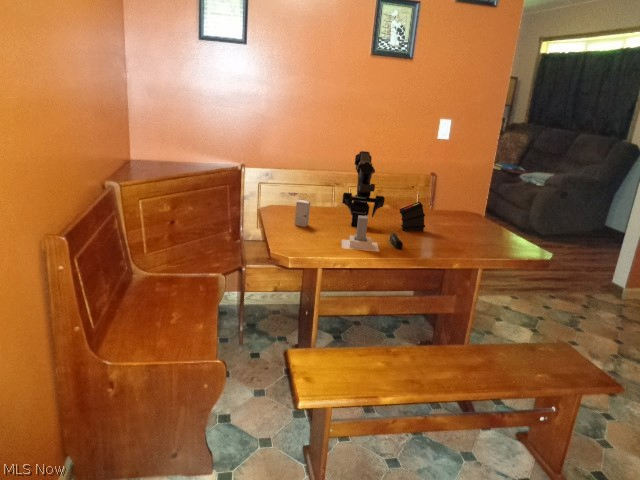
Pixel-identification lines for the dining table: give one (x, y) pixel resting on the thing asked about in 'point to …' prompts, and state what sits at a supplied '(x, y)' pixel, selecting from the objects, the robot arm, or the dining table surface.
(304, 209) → the skincare box
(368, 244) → the white flat stepped block
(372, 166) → the robot arm
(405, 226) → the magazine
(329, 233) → the dining table surface
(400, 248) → the mobile phone
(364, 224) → the plug
